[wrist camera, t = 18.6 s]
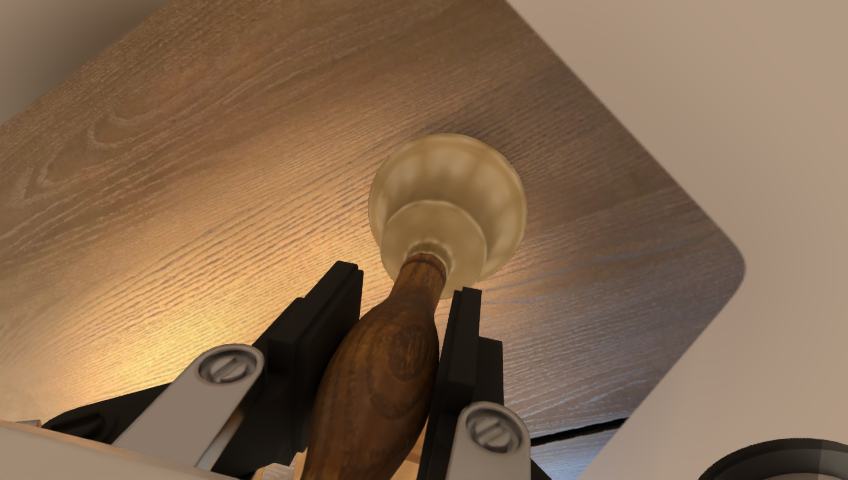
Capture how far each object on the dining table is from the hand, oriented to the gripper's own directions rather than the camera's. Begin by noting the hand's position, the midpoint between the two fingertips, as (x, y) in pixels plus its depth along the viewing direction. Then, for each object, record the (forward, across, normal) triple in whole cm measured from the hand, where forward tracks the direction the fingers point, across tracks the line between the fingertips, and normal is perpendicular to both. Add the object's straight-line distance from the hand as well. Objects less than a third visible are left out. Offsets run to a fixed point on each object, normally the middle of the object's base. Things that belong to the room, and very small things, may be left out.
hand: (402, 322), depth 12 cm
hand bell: (+11, 0, 0) cm, 11 cm away
